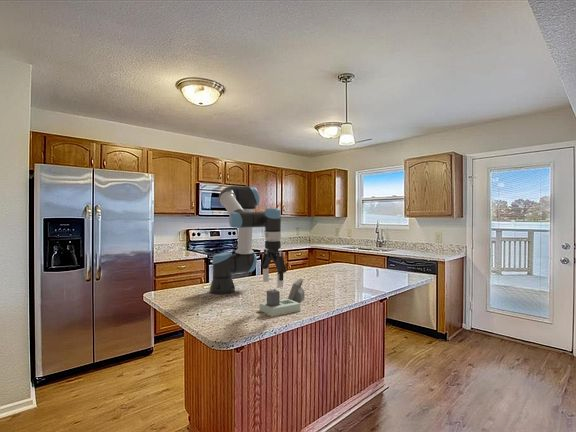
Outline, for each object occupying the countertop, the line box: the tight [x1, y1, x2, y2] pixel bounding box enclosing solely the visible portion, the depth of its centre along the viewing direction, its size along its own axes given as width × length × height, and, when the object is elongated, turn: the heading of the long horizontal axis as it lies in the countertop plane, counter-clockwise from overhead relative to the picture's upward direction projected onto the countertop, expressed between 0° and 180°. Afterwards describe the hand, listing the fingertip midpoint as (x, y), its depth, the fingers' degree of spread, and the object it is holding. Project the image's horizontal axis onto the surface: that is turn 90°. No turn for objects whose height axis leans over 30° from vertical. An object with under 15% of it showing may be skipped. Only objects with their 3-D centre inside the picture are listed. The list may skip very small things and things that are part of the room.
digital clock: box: [287, 278, 305, 303], centre depth 177 cm, size 16×9×11 cm, turn 153°
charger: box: [266, 288, 280, 307], centre depth 155 cm, size 4×4×11 cm
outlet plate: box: [259, 297, 301, 317], centre depth 157 cm, size 12×16×4 cm
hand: (272, 284), depth 155 cm, fingers open, 13 cm apart
